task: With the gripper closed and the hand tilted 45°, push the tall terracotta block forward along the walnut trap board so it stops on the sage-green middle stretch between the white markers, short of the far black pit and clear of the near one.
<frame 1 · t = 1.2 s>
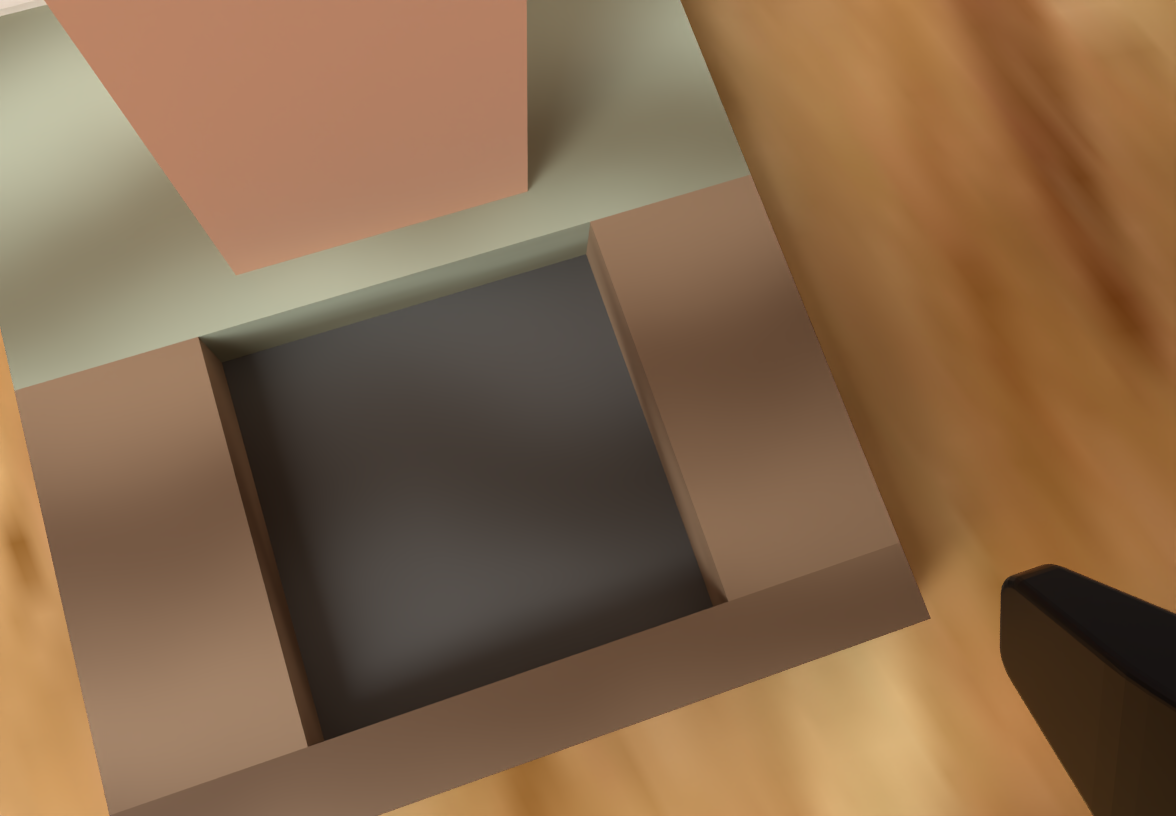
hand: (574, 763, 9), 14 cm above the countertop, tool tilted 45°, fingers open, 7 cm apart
terracotta block: (337, 82, 23), point 2 cm above the countertop, touching trap board
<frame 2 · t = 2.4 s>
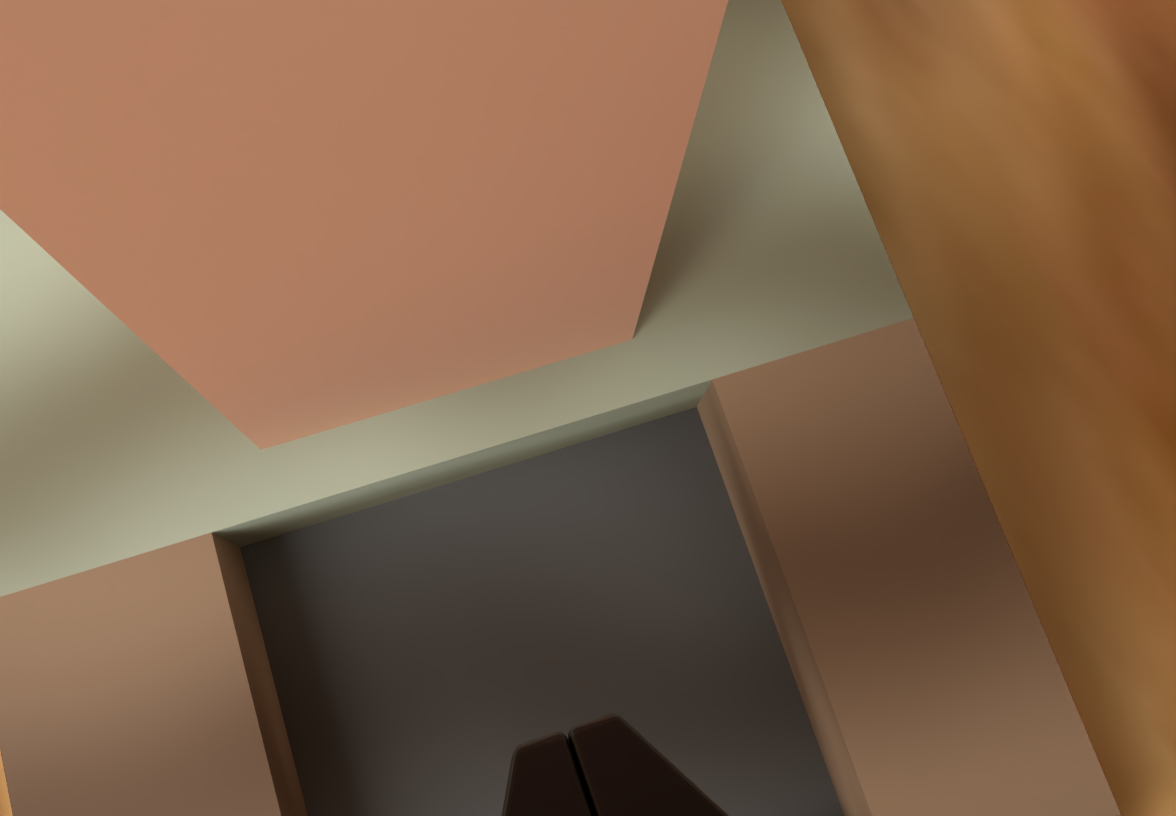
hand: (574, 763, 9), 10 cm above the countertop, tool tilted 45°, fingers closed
trap board: (352, 78, 21), on the countertop
terracotta block: (389, 195, 18), point 2 cm above the countertop, touching trap board
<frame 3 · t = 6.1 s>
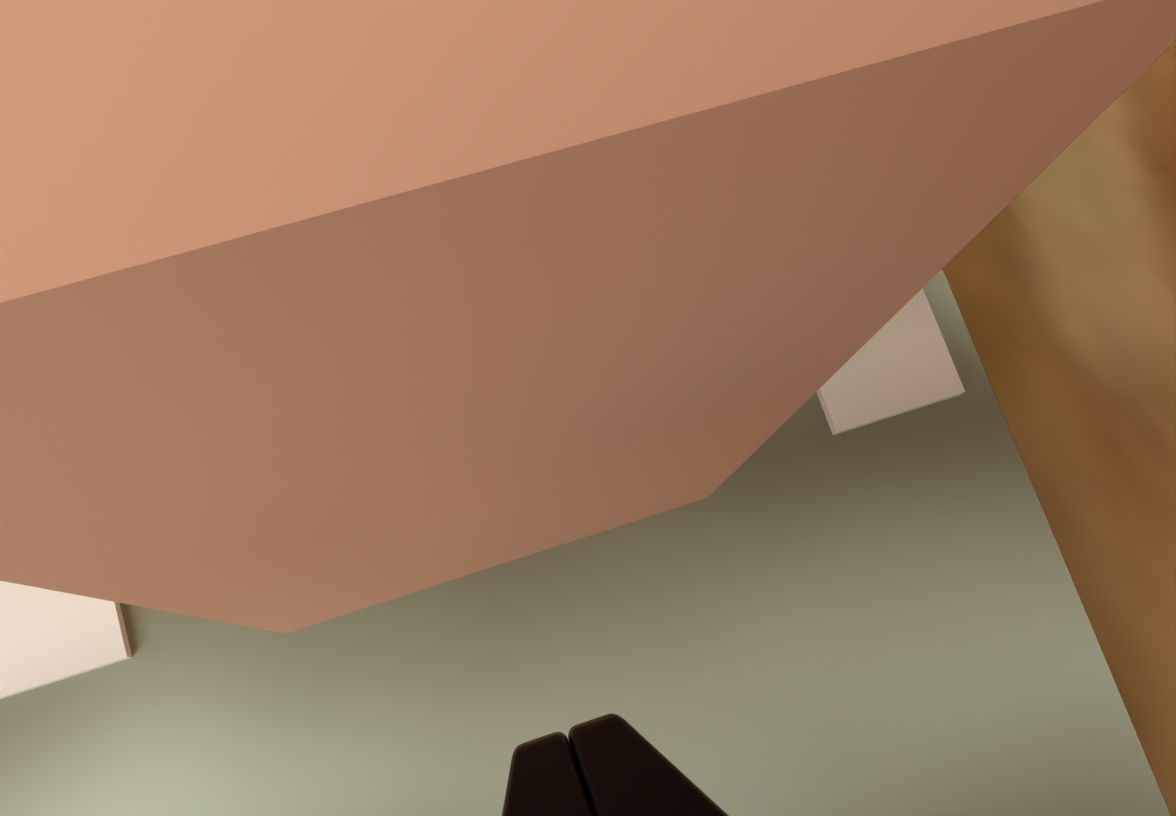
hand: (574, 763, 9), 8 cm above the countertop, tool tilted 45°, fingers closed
trap board: (500, 557, 17), on the countertop
terracotta block: (429, 330, 16), point 2 cm above the countertop, touching trap board
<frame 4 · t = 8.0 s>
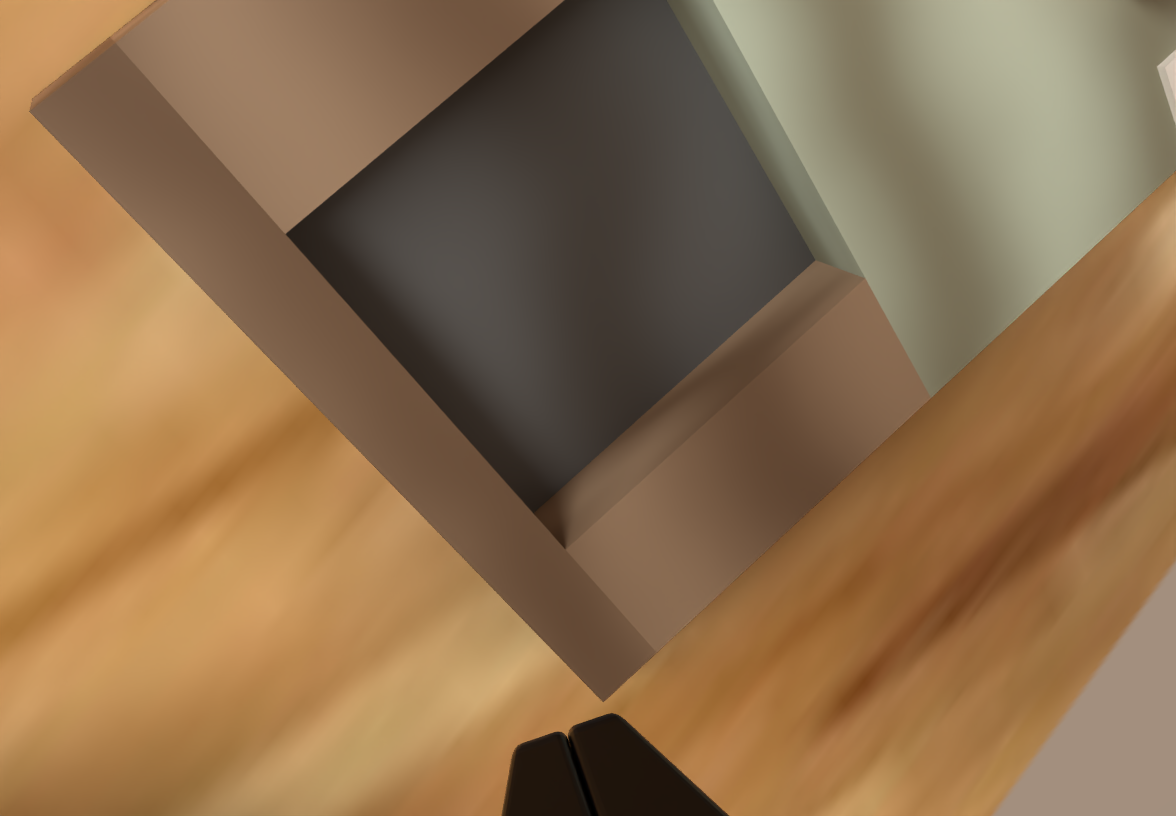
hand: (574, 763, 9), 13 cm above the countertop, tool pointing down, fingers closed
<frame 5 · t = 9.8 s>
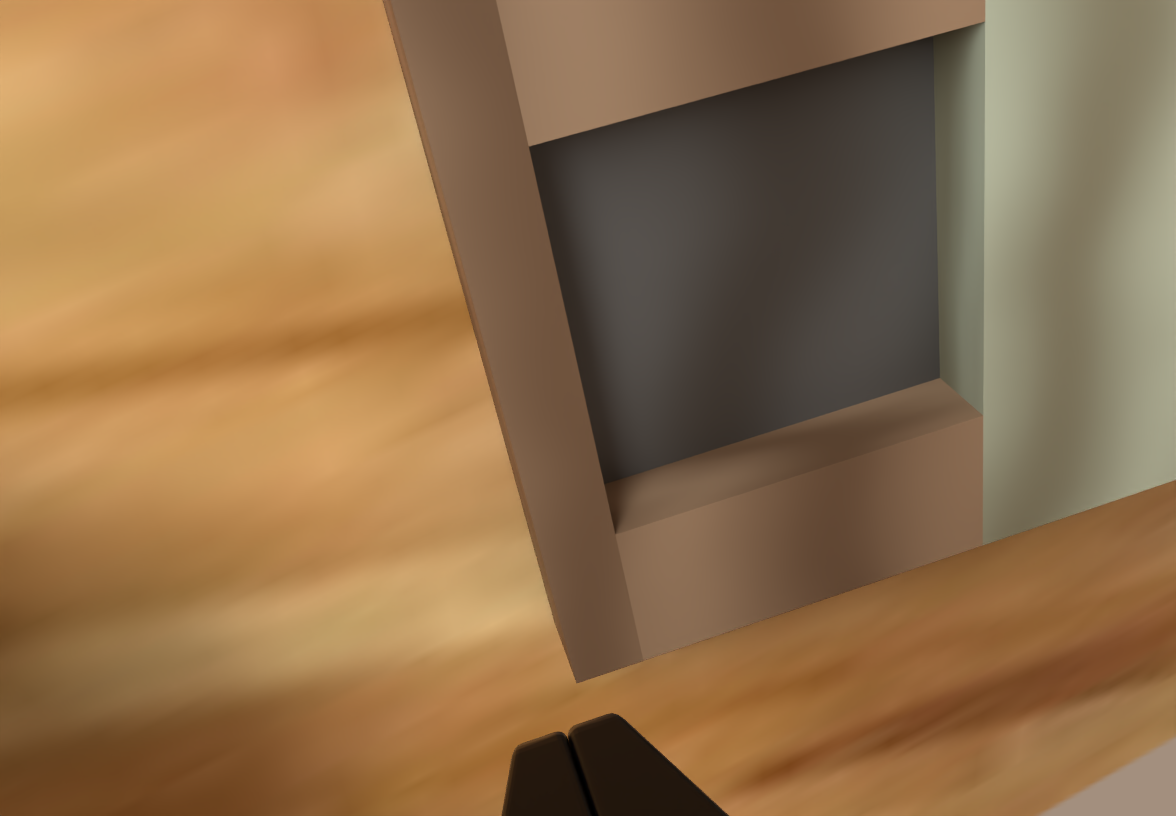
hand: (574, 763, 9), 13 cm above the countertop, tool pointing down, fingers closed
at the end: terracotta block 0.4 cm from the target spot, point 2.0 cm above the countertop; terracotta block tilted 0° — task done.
